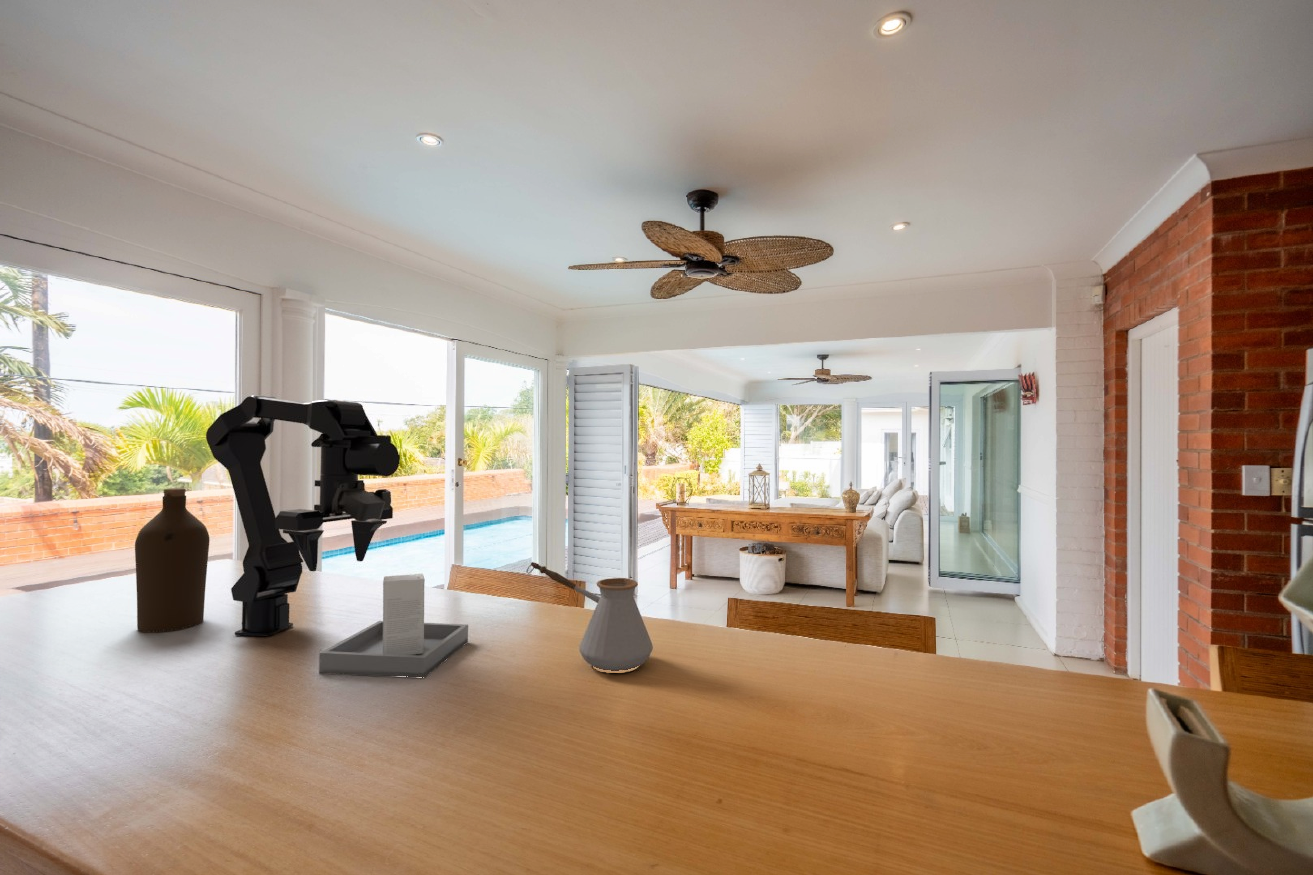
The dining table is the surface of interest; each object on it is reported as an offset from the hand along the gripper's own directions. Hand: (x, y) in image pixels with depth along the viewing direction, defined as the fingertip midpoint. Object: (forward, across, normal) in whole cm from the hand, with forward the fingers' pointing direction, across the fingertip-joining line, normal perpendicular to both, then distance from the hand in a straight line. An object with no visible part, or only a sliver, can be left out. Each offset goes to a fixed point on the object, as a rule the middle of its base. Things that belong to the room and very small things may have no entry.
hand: (337, 565), depth 101 cm
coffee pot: (+13, +10, -43) cm, 46 cm away
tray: (+13, -1, -15) cm, 20 cm away
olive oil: (+13, -6, +35) cm, 38 cm away
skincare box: (+12, -1, -16) cm, 20 cm away
